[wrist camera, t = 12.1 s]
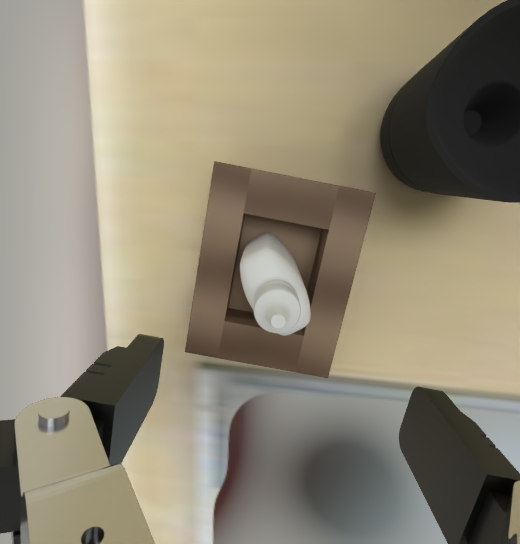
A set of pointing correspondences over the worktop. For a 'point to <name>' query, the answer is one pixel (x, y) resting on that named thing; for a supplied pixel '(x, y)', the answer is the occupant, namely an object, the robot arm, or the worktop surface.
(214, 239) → the recessed rectangular tray
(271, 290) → the eye dropper bottle
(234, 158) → the worktop surface
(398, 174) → the pen holder
